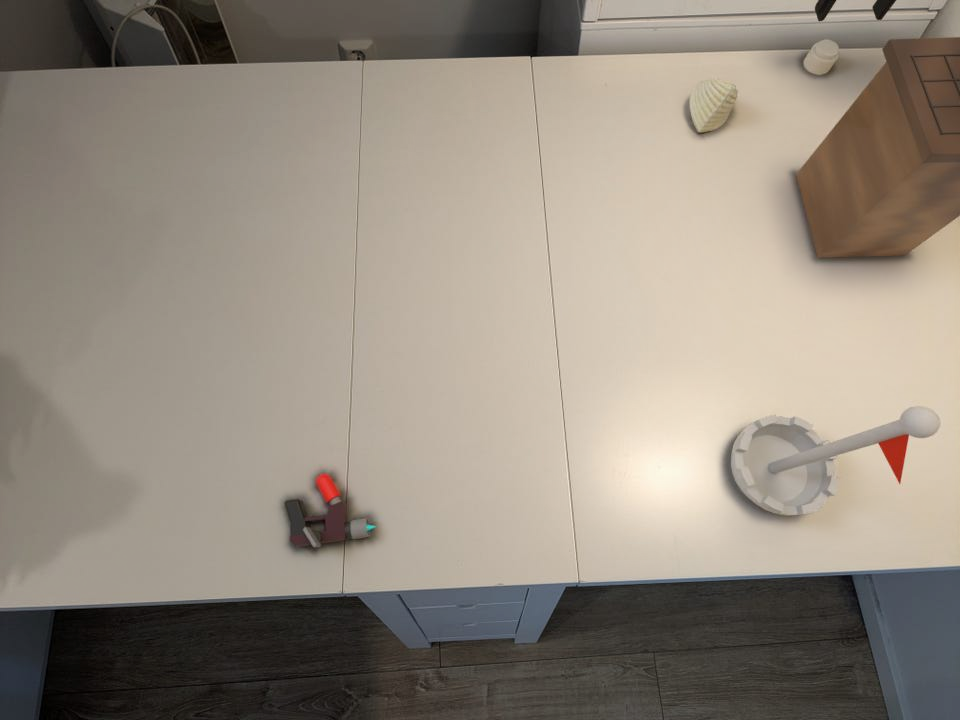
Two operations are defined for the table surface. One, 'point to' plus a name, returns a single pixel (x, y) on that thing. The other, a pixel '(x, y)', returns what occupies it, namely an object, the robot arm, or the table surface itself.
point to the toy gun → (334, 520)
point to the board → (890, 157)
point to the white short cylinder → (821, 57)
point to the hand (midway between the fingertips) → (847, 14)
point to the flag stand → (812, 458)
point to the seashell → (711, 103)
